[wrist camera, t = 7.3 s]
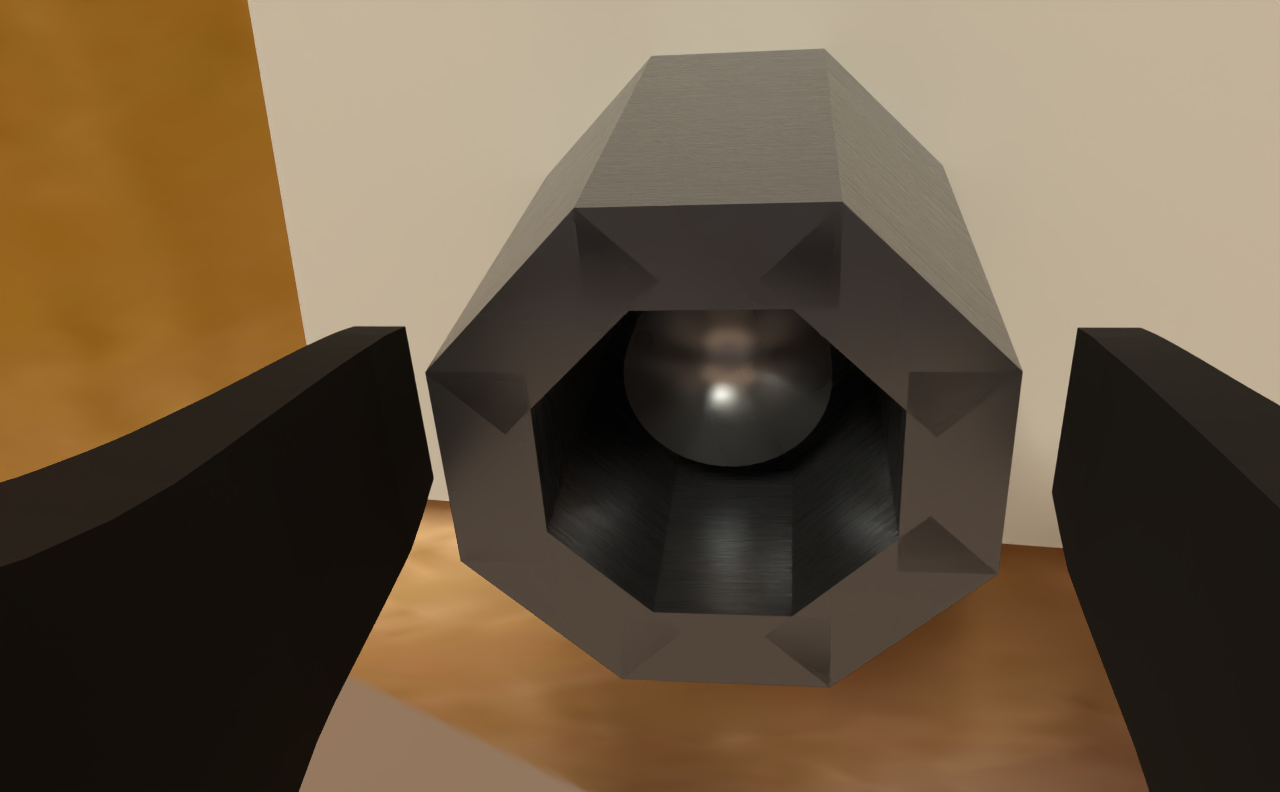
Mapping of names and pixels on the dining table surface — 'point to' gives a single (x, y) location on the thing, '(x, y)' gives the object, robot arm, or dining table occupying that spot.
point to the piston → (727, 382)
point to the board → (895, 76)
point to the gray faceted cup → (734, 280)
